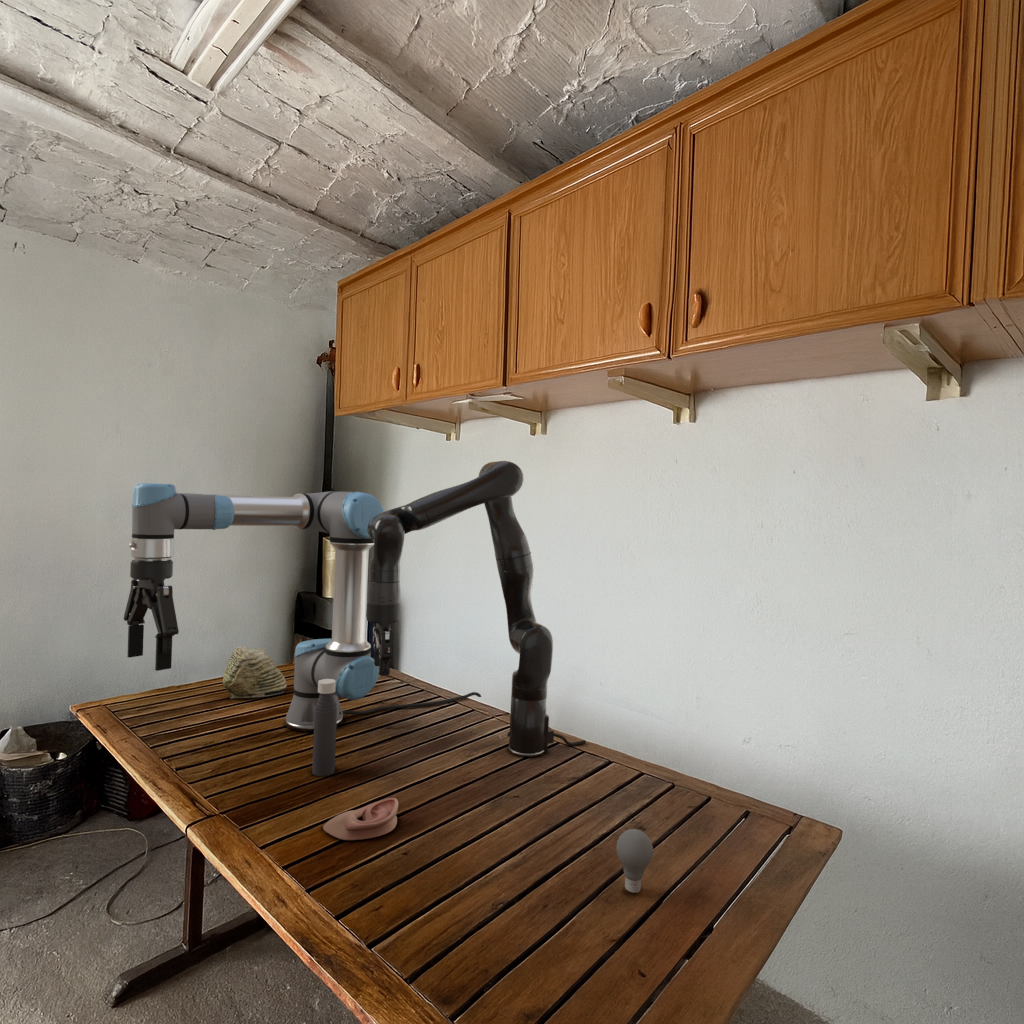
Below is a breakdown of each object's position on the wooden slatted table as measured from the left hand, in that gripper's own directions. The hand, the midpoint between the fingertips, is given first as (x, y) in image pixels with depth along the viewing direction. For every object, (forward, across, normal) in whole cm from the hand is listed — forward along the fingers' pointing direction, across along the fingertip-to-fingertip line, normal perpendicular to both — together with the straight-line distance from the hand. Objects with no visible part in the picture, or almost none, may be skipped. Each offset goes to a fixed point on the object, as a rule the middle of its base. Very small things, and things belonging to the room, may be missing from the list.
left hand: (148, 662), depth 129 cm
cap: (+7, +15, +33) cm, 37 cm away
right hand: (+4, +24, +41) cm, 48 cm away
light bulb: (+28, +90, +41) cm, 103 cm away
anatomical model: (+28, +41, +23) cm, 55 cm away
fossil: (+28, -47, +50) cm, 74 cm away
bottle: (+28, +15, +33) cm, 45 cm away
